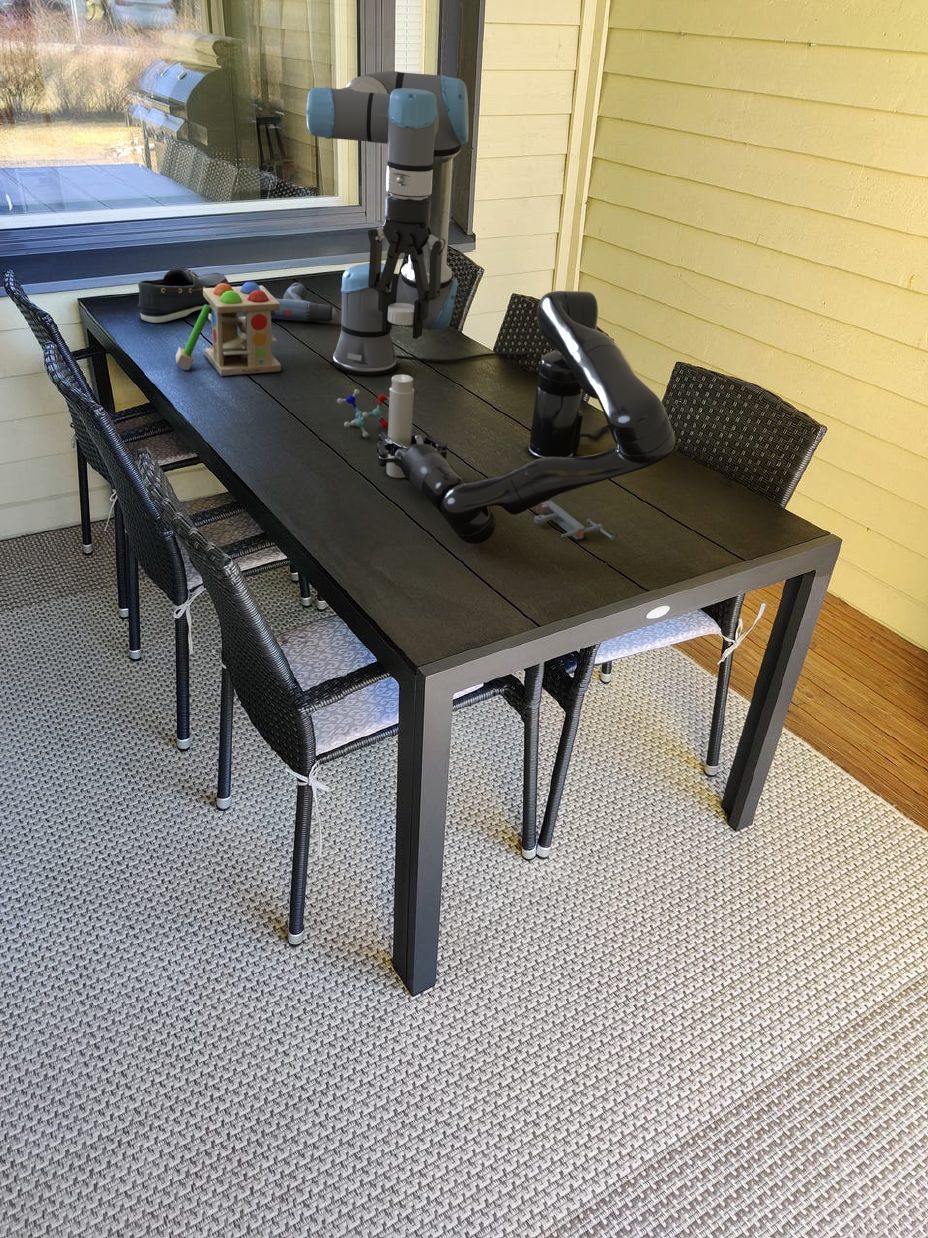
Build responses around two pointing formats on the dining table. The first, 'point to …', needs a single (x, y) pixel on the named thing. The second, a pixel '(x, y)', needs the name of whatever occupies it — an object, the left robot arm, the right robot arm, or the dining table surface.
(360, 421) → the molecular model
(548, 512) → the clamp
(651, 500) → the dining table surface
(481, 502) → the right robot arm
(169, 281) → the boat shoe
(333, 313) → the power drill
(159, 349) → the dining table surface
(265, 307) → the pounding bench toy
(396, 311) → the lid
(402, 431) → the jar
